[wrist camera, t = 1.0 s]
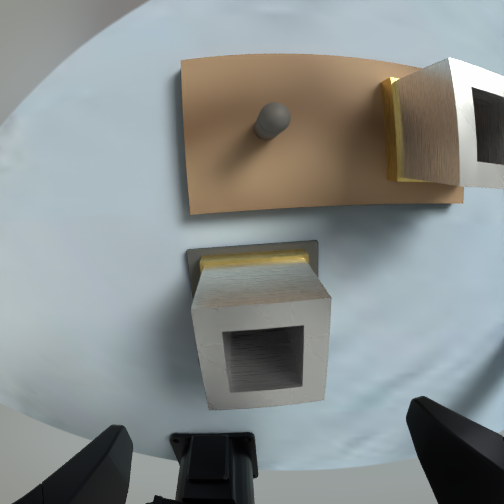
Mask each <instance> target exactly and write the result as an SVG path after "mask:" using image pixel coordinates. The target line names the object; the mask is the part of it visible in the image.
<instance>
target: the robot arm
mask: <svg viewBox="0 0 504 504" xmlns="http://www.w3.org/2000/svg"><path fill="white" fill-rule="evenodd" d="M406 422H407V425H408V428H409V431H410V434H411V437H412V440H413V444H414V447H415V450H416V453H417V456H418V458H419V460H420V463H421V465H422V468H423V470H424V472H425V474H426V477H427V479H428V481H429V483H430V486H431V488H432V490H433V493H434V495H435V497H436V499H437V502H438V504H504V437H503V436H502V435H500V434H498V433H496V432H494V431H492V430H490V429H488V428H486V427H484V426H482V425H480V424H478V423H476V422H474V421H472V420H470V419H468V418H466V417H464V416H462V415H460V414H458V413H456V412H454V411H452V410H450V409H448V408H446V407H444V406H442V405H440V404H438V403H437V402H435V401H433V400H431V399H429V398H427V397H425V396H420V397H417V398H414V399H412V401H411V403H410V406H409V409H408V412H407V415H406ZM170 442H171V445H172V447H173V450H174V452H175V455H176V457H177V460H178V462H179V465H180V470H179V477H178V484H177V491H176V499H175V500H171V499H166V498H163V497H161V496H157V495H155V496H154V500H153V502H151V503H146V504H255V503H254V488H253V478H257V477H258V466H257V456H256V446H255V436H254V434H253V433H250V432H244V433H221V434H178V433H175V434H172V435H171V437H170ZM132 452H133V443H132V440H131V438H130V436H129V434H128V432H127V430H126V428H125V427H124V426H122V425H111V426H109V427H108V428H107V429H106V430H105V431H103V432H102V433H101V434H100V435H99V436H98V437H96V438H95V439H94V440H93V441H92V442H90V443H89V444H88V445H87V446H86V447H85V448H83V449H82V450H81V451H80V452H79V453H77V454H76V455H75V456H74V457H72V458H71V459H70V460H69V461H68V462H66V463H65V464H64V465H63V466H62V467H60V468H59V469H58V470H57V471H55V472H54V473H53V474H52V475H50V476H49V477H48V478H47V479H46V480H44V481H43V482H42V484H39V485H38V486H37V487H35V488H34V489H33V490H31V491H30V492H29V493H27V494H26V495H25V496H23V497H22V498H20V499H18V500H17V501H15V502H14V503H12V504H125V502H126V498H127V493H128V488H129V481H130V471H131V460H132Z"/></svg>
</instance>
